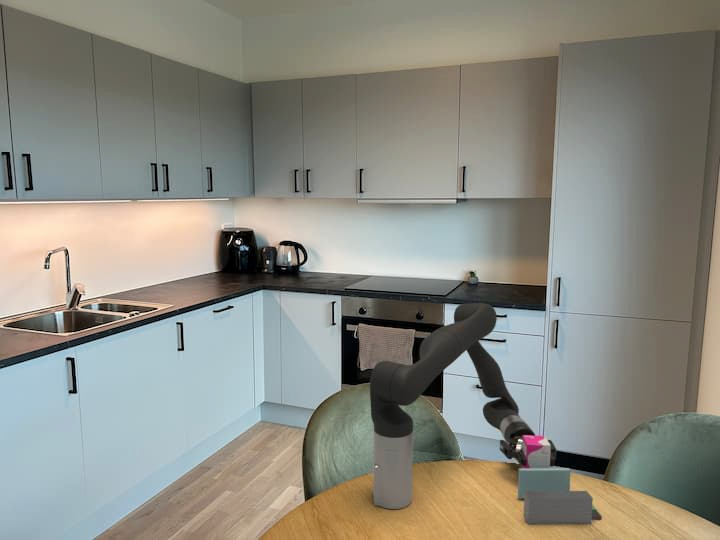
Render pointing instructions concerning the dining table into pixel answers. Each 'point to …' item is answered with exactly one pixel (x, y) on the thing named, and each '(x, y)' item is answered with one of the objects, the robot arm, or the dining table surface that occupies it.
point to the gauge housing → (559, 507)
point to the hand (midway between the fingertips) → (538, 463)
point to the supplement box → (536, 451)
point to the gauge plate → (543, 480)
